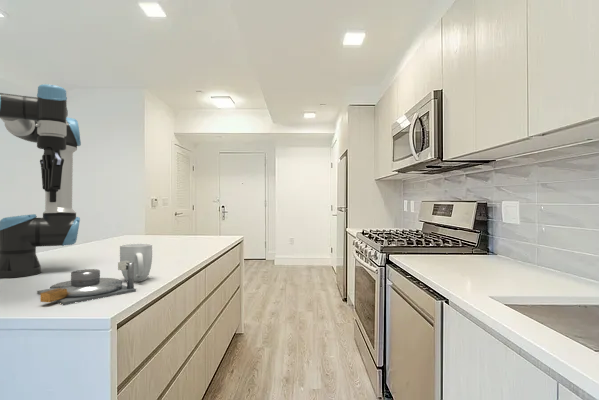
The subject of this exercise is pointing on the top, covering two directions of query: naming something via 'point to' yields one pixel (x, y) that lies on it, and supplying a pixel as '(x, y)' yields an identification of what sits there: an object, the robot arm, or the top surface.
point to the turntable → (79, 289)
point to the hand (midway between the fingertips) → (51, 212)
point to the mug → (137, 259)
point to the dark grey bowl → (85, 277)
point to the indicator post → (128, 272)
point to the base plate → (84, 298)
